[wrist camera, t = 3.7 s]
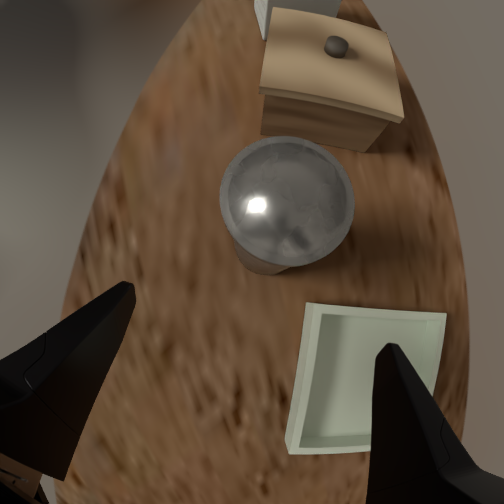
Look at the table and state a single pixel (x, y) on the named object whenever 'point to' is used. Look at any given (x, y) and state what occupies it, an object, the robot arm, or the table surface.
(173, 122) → the table surface
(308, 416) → the tray
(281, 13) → the lidded bin
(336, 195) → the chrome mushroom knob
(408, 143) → the table surface
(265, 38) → the supplement box
